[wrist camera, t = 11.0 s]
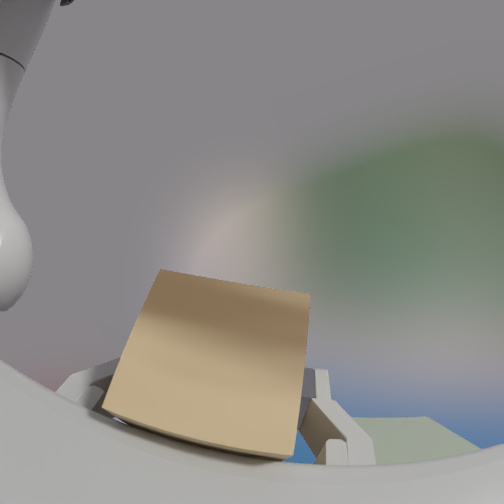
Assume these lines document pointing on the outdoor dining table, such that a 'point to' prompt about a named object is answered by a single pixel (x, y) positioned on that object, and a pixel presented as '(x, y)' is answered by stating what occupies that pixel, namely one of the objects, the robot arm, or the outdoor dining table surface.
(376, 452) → the pedestal
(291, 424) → the beam
